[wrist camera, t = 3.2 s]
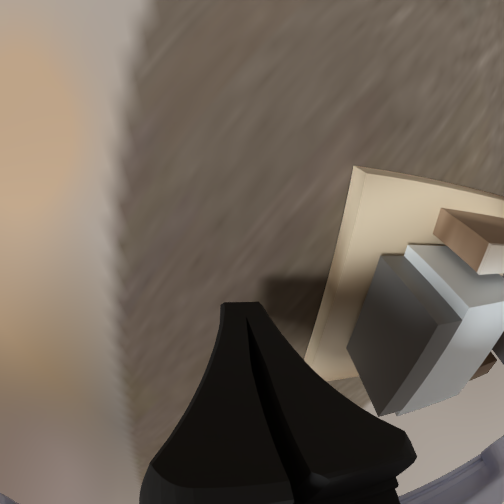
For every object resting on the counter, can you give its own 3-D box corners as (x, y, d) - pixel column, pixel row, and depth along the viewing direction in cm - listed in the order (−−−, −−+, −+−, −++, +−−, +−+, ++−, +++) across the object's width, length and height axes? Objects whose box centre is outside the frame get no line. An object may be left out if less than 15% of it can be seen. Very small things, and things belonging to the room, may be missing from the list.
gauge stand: (468, 338, 18) (521, 414, 11) (300, 369, 16) (343, 503, 9) (530, 204, 13) (617, 272, 6) (353, 165, 10) (529, 301, 4)
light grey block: (434, 339, 15) (469, 389, 11) (343, 354, 14) (373, 422, 10) (494, 206, 11) (553, 248, 7) (399, 188, 10) (475, 243, 6)
